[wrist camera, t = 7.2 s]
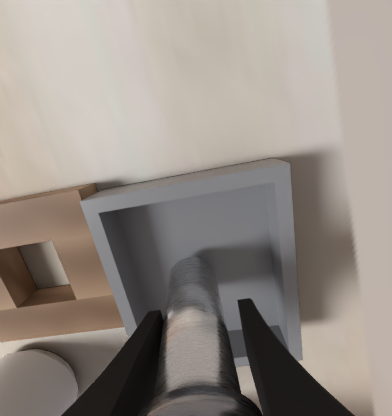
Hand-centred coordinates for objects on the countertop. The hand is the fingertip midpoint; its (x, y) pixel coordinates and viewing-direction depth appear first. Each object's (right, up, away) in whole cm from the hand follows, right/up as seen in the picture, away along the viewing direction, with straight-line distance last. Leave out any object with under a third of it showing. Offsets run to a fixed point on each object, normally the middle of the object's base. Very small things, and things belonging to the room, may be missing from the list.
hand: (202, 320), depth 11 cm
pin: (-1, +1, +3) cm, 4 cm away
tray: (0, +2, +5) cm, 5 cm away
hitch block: (-11, +2, +6) cm, 12 cm away
